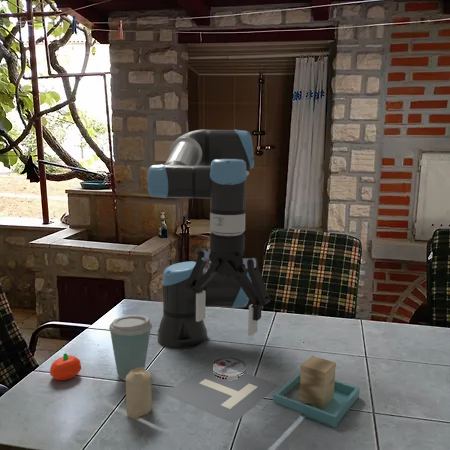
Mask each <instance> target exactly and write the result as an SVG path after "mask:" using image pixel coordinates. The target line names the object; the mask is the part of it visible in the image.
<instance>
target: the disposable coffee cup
mask: <svg viewBox="0 0 450 450" xmlns="http://www.w3.org/2000/svg"><path fill="white" fill-rule="evenodd" d="M152 325H153V324H152V323H151V320H150V318H149V317H148V316H146V315H141V314H138V315H137V314H134V315H133V314H131V315H126V316H121V317H118V318H115V319H114V320H113V321H112V322H111V323H110V324H109V326H108V327H109V328H108V329H109V331H110V332H109V333H110V339H111V343H112V350H113V356H114V362H115V369H116V373H117V376H118V377H119V379H121V380H124V381H126V376H127V375H128V374H129V373H130V371H131V370H134V369H136V368H144V369H145V368H146V361H147V354H148V347H149V341H150V336H151V335H150V334H151V329H152V328H153V326H152ZM145 370H146V369H145Z"/></svg>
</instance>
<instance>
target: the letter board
mask: <svg viewBox="0 0 450 450" xmlns="http://www.w3.org/2000/svg"><path fill="white" fill-rule="evenodd" d="M214 362H215V361H213V362H211V363H210V364H209V365H207V366H205V367H204V368H202V369H201V370H199V371H197V372H196V373H193V374H192V375H190V377H188V378H186V379H185V380H183V381H182V382H180V383H178V384H176V385H175V386H173V387H172V388H170V389H169V390H167V391H166V392H164V393H163V394H164V395H167V396H169V397H171V398H173V399H175V400H178V401H180V402H183V403H184V404H187V405H189V406H192V407H195V408H197V409H199V410H201V411H203V412H205V413H208V414H211V415H213V416H215V417H218V418H220V419H222V420H224V421H226V422H230V423H232V424H235V423H236V422H238V421H239V420H240V419H241V418H243V416H244V415H246V414H247V413H248V412H249V411H250V410H252V409H253V408H254V407H255V406H256V405H257V404H258V403H260V402H261V401H262V400H264V399H265V398H266V397H267V396H268V395H269V394H270V393H272V392H273V391H274V390H275V389H277V387H279V386H280V384H279V383H275V382H272V381H269V380H267V379H264V378H261V377H259V376H255V375H252V374H249V373H247V372H244V373H245V374H244V375H243V376H241V377H239V378H238V379H236V380H232V381H227V380H222V379H218V378H216V377H215V376H214V375H213V364H214Z"/></svg>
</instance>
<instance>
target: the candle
mask: <svg viewBox="0 0 450 450" xmlns="http://www.w3.org/2000/svg"><path fill="white" fill-rule="evenodd" d="M125 399H126V401H125V403H126V415H127V416H128V418H131V419H134V420H140V419H143V417H142V416H145V415H147V414H149V413H150V412H151V411H152V403H153V402H152V401H153V400H152V374H151V373H150V372H149V371H148V370H147V369H144V368H136V369H134V370H131V371H130V373H129V374H128V375H127V376H126V380H125Z"/></svg>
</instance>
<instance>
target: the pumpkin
mask: <svg viewBox="0 0 450 450" xmlns="http://www.w3.org/2000/svg"><path fill="white" fill-rule="evenodd" d="M81 370H82V364H81V360H80V359H79V358H78V357H77V356H75V355H68V354H67V352H65V353H63V356H61V357H59V358H58V359H56V360H54V361H53V362H52V363H51V365H50V370H49V374H50V376H51V377H52V378H53V379H55V380H57V381H67V380H70V379H72V378H74V377H75V376H78V374H79V373H80V371H81Z"/></svg>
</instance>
